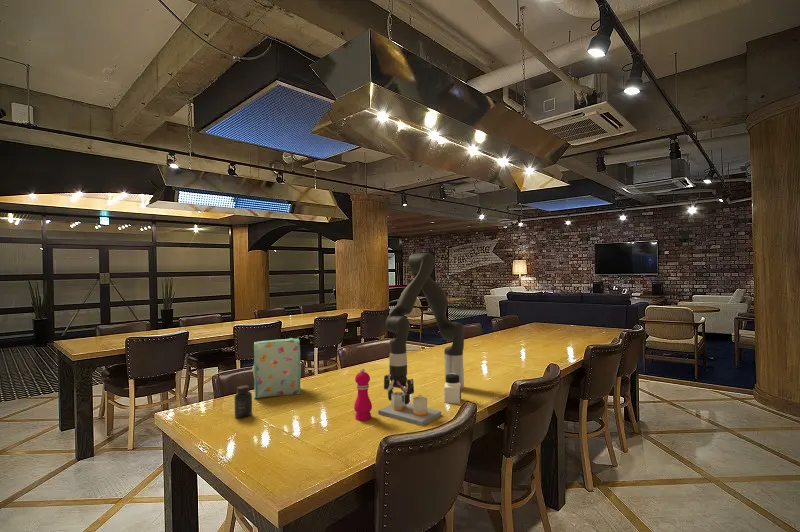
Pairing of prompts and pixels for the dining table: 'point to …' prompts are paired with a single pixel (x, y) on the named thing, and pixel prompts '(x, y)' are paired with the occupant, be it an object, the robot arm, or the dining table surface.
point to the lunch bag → (276, 368)
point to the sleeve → (398, 401)
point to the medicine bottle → (452, 389)
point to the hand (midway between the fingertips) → (398, 401)
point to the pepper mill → (362, 397)
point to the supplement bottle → (243, 402)
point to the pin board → (412, 412)
